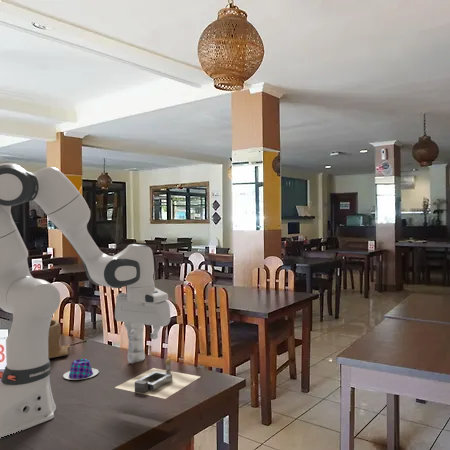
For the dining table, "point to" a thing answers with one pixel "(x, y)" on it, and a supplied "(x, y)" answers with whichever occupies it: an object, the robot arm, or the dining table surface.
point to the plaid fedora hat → (80, 370)
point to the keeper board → (164, 392)
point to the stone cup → (56, 341)
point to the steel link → (161, 380)
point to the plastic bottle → (136, 344)
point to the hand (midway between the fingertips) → (142, 337)
